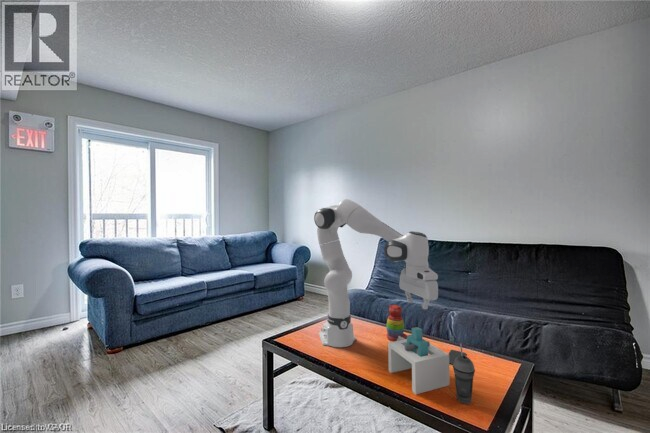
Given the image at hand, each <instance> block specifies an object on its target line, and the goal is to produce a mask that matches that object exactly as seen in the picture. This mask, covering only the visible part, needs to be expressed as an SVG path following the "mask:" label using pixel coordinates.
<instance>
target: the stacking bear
mask: <svg viewBox="0 0 650 433" xmlns="http://www.w3.org/2000/svg"><path fill="white" fill-rule="evenodd" d="M388 311H389V315H388V317H387V320H386V326H385V327H386V332H387V333H386V338H387V340H389V342H390V341H391V342H395V341H397V338H398V336H400V337H402V338H404V339H407V334H406V333H404V331H405V323H404V319H403V316H402V311H403V309H402V306H400V305H397V304H393V305H392V304H390V305H389V308H388Z"/></svg>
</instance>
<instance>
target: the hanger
mask: <svg viewBox="0 0 650 433" xmlns="http://www.w3.org/2000/svg"><path fill="white" fill-rule="evenodd" d="M406 335H407V334H406ZM427 341H428V340H425V339H424V338H423V329H422V328H420V327H418V326H416V327H411V334H408V335H407V345H411V344H414V345H416V346H417V347H418V355H419V356H420V357H423V356H428V355H429V353H428V342H429V341H428V342H427ZM411 351H413V352H414V353H416V354H417V349H414V350H411ZM407 362H409V361H407ZM409 363H410V362H409Z"/></svg>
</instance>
